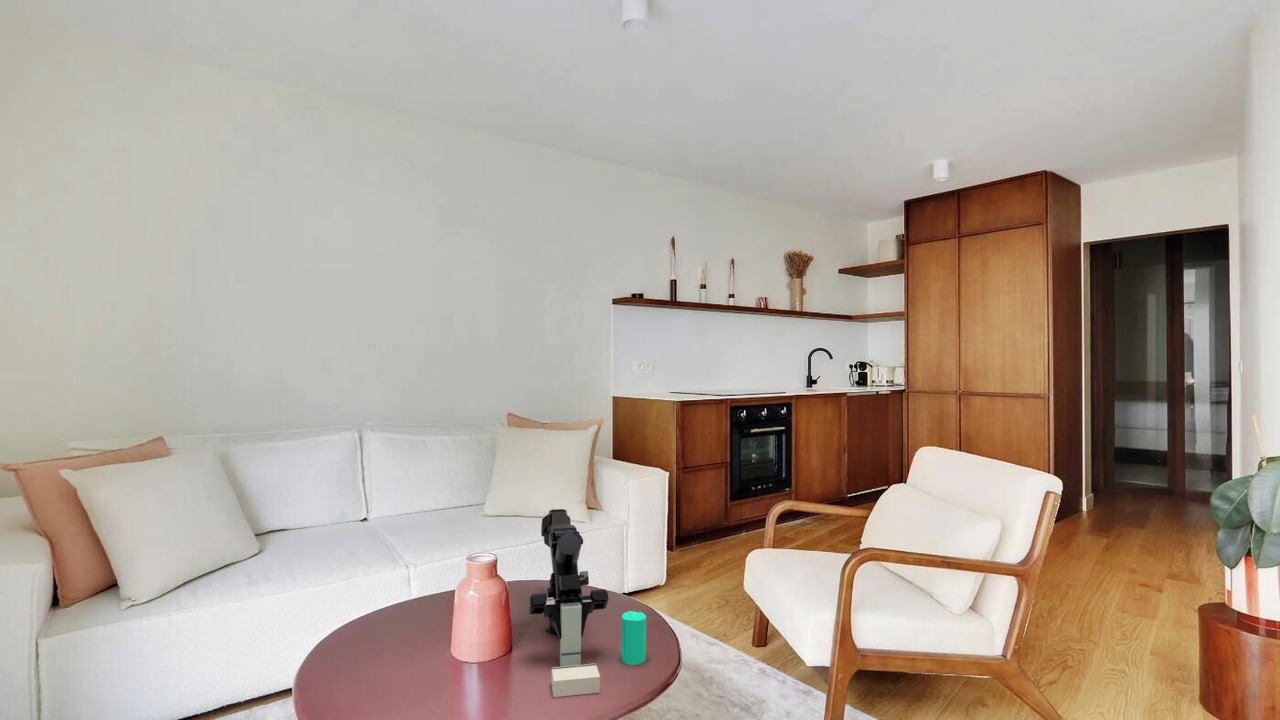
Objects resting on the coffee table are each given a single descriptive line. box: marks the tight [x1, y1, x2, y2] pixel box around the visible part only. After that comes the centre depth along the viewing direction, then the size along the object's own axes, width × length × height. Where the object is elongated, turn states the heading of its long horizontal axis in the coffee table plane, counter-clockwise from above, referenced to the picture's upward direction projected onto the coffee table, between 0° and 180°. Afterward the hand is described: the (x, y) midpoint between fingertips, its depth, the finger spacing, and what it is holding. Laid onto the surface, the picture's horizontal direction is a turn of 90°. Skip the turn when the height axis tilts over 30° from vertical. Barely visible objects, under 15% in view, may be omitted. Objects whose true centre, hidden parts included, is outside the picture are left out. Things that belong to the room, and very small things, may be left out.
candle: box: [621, 609, 647, 666], centre depth 156 cm, size 6×6×12 cm
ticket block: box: [550, 663, 601, 698], centre depth 143 cm, size 6×10×4 cm, turn 102°
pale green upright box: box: [559, 602, 582, 667], centre depth 153 cm, size 3×5×14 cm, turn 103°
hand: (571, 637), depth 151 cm, fingers closed on pale green upright box, 5 cm apart
